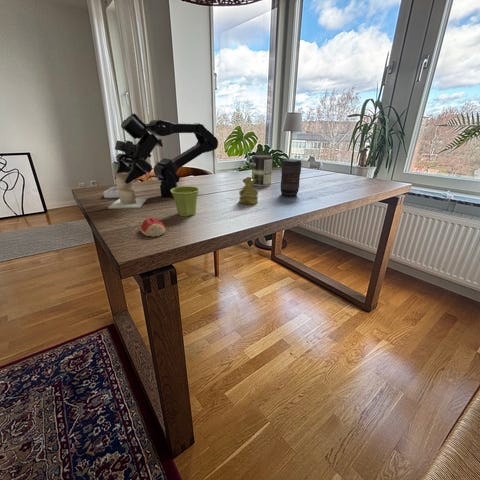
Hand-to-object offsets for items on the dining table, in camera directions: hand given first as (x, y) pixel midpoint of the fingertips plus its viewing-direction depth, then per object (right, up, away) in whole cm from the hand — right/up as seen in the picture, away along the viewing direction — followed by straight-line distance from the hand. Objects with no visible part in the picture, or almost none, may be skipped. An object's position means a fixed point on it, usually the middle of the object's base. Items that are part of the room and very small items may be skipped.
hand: (120, 181), depth 96 cm
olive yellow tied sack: (+48, -7, +8) cm, 49 cm away
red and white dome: (+19, -20, -20) cm, 34 cm away
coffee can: (+56, +7, +38) cm, 68 cm away
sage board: (+1, -8, +5) cm, 9 cm away
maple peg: (+1, -7, +5) cm, 9 cm away
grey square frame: (-8, -2, +17) cm, 19 cm away
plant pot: (+26, -13, -5) cm, 29 cm away
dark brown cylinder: (+66, -2, +18) cm, 69 cm away
